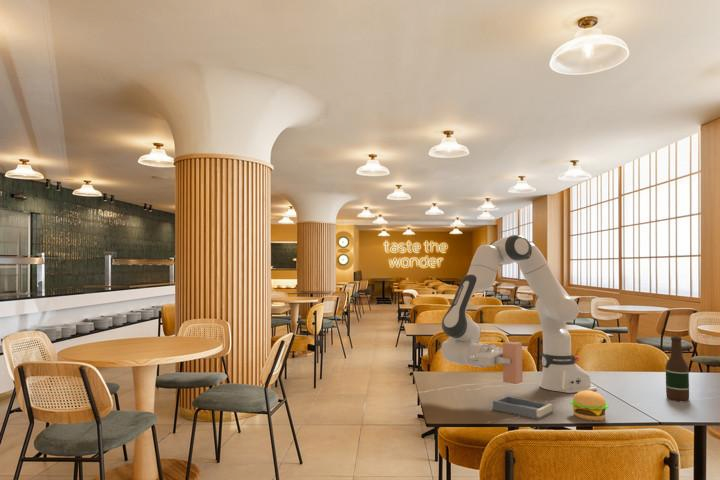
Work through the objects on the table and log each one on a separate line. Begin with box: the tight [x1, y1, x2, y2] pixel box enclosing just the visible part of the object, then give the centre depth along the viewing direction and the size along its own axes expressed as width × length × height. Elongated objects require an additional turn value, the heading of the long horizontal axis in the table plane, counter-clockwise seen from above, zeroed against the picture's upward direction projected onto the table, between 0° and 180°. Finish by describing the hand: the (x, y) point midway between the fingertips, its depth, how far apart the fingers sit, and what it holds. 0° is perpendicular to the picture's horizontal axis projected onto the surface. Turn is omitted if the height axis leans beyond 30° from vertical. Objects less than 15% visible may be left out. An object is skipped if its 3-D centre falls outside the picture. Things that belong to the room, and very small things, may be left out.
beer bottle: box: [665, 335, 690, 402], centre depth 200 cm, size 8×8×24 cm
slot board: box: [492, 395, 553, 420], centre depth 183 cm, size 17×10×3 cm, turn 47°
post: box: [502, 340, 524, 385], centre depth 186 cm, size 5×5×14 cm
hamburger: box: [570, 390, 610, 421], centre depth 177 cm, size 12×12×9 cm
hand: (514, 359), depth 186 cm, fingers closed on post, 5 cm apart
